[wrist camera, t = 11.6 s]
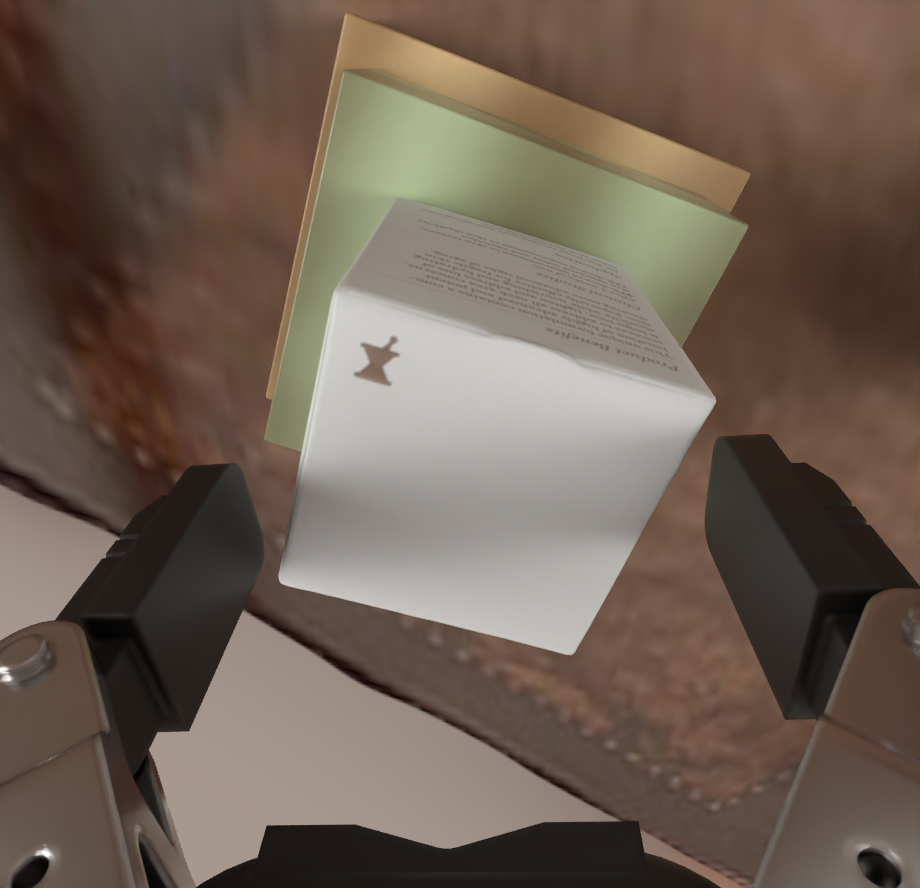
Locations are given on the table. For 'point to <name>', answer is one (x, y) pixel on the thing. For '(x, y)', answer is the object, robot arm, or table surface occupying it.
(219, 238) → the table surface
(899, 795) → the robot arm
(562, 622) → the product box
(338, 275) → the block stack
